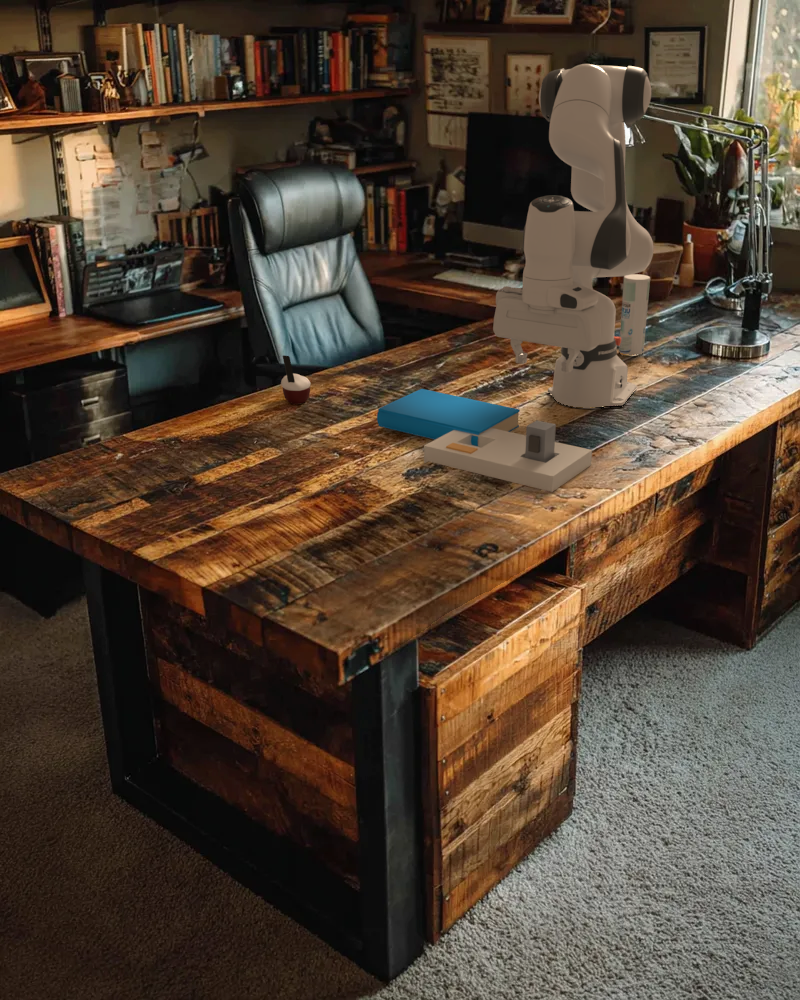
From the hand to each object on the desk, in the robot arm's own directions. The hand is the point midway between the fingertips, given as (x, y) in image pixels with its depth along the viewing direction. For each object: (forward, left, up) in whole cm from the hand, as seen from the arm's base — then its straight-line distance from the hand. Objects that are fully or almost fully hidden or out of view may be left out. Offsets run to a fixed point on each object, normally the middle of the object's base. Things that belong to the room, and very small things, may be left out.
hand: (543, 367), depth 199 cm
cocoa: (-8, -67, -22) cm, 71 cm away
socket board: (0, -7, -21) cm, 22 cm away
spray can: (-87, -20, -22) cm, 92 cm away
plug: (0, 0, -20) cm, 20 cm away
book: (-11, -28, -21) cm, 36 cm away
